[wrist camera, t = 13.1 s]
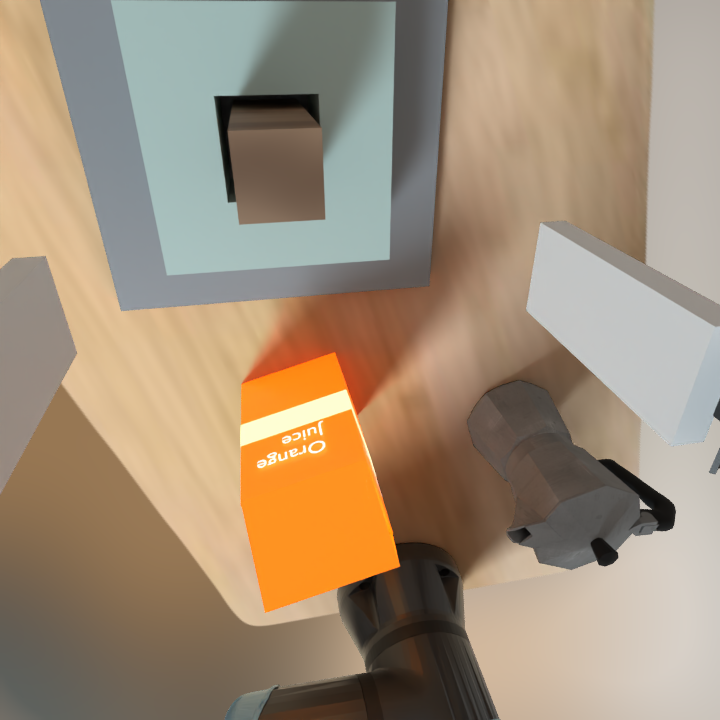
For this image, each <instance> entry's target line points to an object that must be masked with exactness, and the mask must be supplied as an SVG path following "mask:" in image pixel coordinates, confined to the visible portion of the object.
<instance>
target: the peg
mask: <svg viewBox="0 0 720 720" xmlns="http://www.w3.org/2000/svg"><path fill="white" fill-rule="evenodd" d="M228 139H229V147H230V155H231V163H232V171H233V179H234V187H235V195H236V203H237V211H238V219H239V225H243V224H260V223H277V222H294V221H311V220H326V219H325V194H324V168H323V143H322V127H321V126H320V125H319V124H318V123H317V122H316V121H315V120H314V119H313V117H312V116H311V115H310V114H309V113H308V112H307V111H306V110H305V109H304V107H303V106H302V105H301V104H300V103H299V102H298V101H297V100H296V99H261V100H233V104H232V110H231V115H230V120H229V126H228Z"/></svg>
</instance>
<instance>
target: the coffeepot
mask: <svg viewBox="0 0 720 720" xmlns="http://www.w3.org/2000/svg"><path fill="white" fill-rule="evenodd" d="M467 423H468V427H469V432H470V434H471V438H472V441H473V445H474V447H475V448H476V449H477V450H478V451H479V452H480V453H481V454H482V455H483V457H484V458H485V459H486V460H487V461H488V462H489V463H490V464H491V465H492V466H493V468H494V469H495V470H496V471H497V472H498V473H499V474H500V475H501V476H502V477H503V478H504V480H506V481H508V482H510V485H511V489H512V493H513V496H514V500H515V502H516V507H515V515H514V520H513V524H512V526H511V527H509V528H507V531H506V534H507V536H508V538H509V539H510V540H511V541H512V542H513V543H519V545H522V546H527V547H531V548H533V549H534V552H535V554H536V557H537V559H538V562H539V563H542V564H547V565H552V566H556V567H561V568H566V569H570V570H572V569H575V568H578V567H580V566H583V565H586V564H588V563H591V562H594V561H596V560H597V562H598V564H599V565H601V566H608V565H610V564H613V563H614V562H615V561H616V560H617V559H618V553H617V552H616V550H617V549H618V548H619V547H620V546H621V545H622V544H623V543H624V541H625V540H626V539H627V538H628V537H629V536H630V535H631V534H632V533H633V534H634V535H635V536H639V535H648V534H652V533H653V531H667V530H670V529H672V528H673V526H674V522H675V514H676V510H675V506H674V504H673V503H672V502H671V501H670V500H669V499H667V498H666V497H664V496H663V495H661V494H660V493H658V492H657V491H655V490H654V489H653V488H651V487H650V486H648V485H647V484H646V483H644V482H643V481H642V480H640V479H639V478H637V477H636V476H635V475H633V474H632V473H630V472H629V471H628V470H626V469H625V468H623V467H622V466H620V465H619V464H617V463H616V462H615V461H613V460H611V459H602V460H596V459H595V458H594V457H593V456H592V455H590V454H589V453H588V452H587V451H586V450H585V449H583V448H580V447H578V446H575V445H573V444H572V440H571V437H570V433H569V431H568V430H567V428H566V426H565V424H564V422H563V420H562V418H561V416H560V414H559V412H558V410H557V408H556V407H555V405H554V403H553V401H552V399H551V397H550V395H549V393H548V391H547V390H544V389H542V388H539V387H537V386H535V385H533V384H531V383H527V382H523V381H520V380H519V381H515V382H511V383H507V384H504V385H501V386H499V387H497V388H495V389H493V390H491V391H490V392H488V393H486V394H485V395H484V396H483V397H482V398H481V399H480V400H479V402H478V403H477V404H476V405H475V407H474V409H473V410H472V412H471V415H470V417H469V419H468V420H467ZM639 498H640V499H641V500H642V501H643V502H644V503H645V504H646V505H647V506H648V507H650V508H651V509H652V510H648V509H640V500H639Z"/></svg>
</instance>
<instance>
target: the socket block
mask: <svg viewBox="0 0 720 720" xmlns="http://www.w3.org/2000/svg"><path fill="white" fill-rule="evenodd" d="M40 2H41V6H42V10H43V14H44V18H45V21H46V25H47V29H48V33H49V37H50V41H51V44H52V48H53V52H54V56H55V60H56V64H57V67H58V71H59V75H60V79H61V83H62V87H63V90H64V94H65V98H66V102H67V106H68V110H69V113H70V117H71V121H72V125H73V129H74V132H75V136H76V140H77V144H78V148H79V152H80V155H81V159H82V163H83V167H84V171H85V175H86V178H87V182H88V186H89V190H90V194H91V198H92V201H93V205H94V209H95V213H96V217H97V221H98V224H99V228H100V232H101V236H102V240H103V243H104V247H105V251H106V255H107V259H108V263H109V266H110V270H111V274H112V278H113V282H114V286H115V289H116V293H117V297H118V301H119V305H120V309H121V311H127V310H140V309H152V308H164V307H177V306H189V305H202V304H214V303H226V302H239V301H251V300H264V299H276V298H288V297H301V296H313V295H326V294H338V293H350V292H363V291H375V290H388V289H400V288H412V287H425V286H429V283H430V268H431V253H432V237H433V222H434V207H435V192H436V177H437V162H438V147H439V132H440V116H441V101H442V86H443V71H444V56H445V41H446V26H447V11H448V0H40ZM261 99H296V100H297V101H298V102H299V103H300V104H301V105H302V106H303V107H304V109H305V110H306V111H307V112H308V113H309V114H310V115H311V116H312V117H313V119H314V120H315V121H316V122H317V123H318V124H319V125H320V126H321V127H322V143H323V168H324V194H325V219H326V220H311V221H294V222H277V223H260V224H243V225H239V219H238V211H237V203H236V195H235V187H234V179H233V171H232V163H231V155H230V147H229V139H228V126H229V120H230V115H231V110H232V104H233V100H261Z"/></svg>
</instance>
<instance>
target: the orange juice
mask: <svg viewBox="0 0 720 720" xmlns="http://www.w3.org/2000/svg"><path fill="white" fill-rule="evenodd" d="M240 446H241V507H242V509H243V514H244V518H245V523H246V527H247V532H248V537H249V541H250V546H251V550H252V555H253V559H254V564H255V568H256V573H257V577H258V582H259V587H260V591H261V596H262V600H263V605H264V609H265V613H266V612H269V611H272V610H275V609H278V608H281V607H284V606H287V605H290V604H292V603H295V602H298V601H301V600H304V599H307V598H310V597H313V596H316V595H319V594H321V593H324V592H327V591H330V590H333V589H336V588H339V587H342V586H345V585H348V584H350V583H353V582H356V581H359V580H362V579H365V578H368V577H371V576H374V575H376V574H379V573H382V572H385V571H388V570H391V569H394V568H397V567H400V564H399V560H398V556H397V551H396V547H395V542H394V538H393V531H392V528H391V525H390V521H389V518H388V515H387V512H386V508H385V505H384V502H383V498H382V495H381V492H380V488H379V485H378V482H377V479H376V473H375V470H374V467H373V464H372V460H371V457H370V454H369V451H368V449H367V446H366V442H365V439H364V436H363V432H362V429H361V426H360V423H359V419H358V416H357V413H356V410H355V407H354V405H353V402H352V399H351V396H350V393H349V391H348V388H347V385H346V382H345V379H344V377H343V374H342V371H341V368H340V365H339V363H338V360H337V357H336V354H335V353H332V354H329V355H326V356H323V357H320V358H317V359H314V360H311V361H308V362H305V363H302V364H299V365H296V366H293V367H290V368H287V369H284V370H281V371H278V372H275V373H272V374H270V375H267V376H264V377H261V378H258V379H255V380H252V381H249V382H246V383H243V384H242V389H241V433H240Z"/></svg>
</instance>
